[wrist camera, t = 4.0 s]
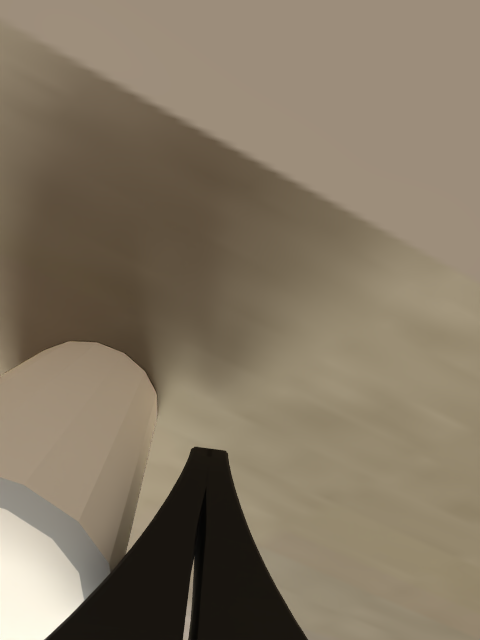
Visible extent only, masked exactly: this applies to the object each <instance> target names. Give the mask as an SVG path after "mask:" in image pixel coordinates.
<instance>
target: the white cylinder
mask: <svg viewBox="0 0 480 640" xmlns="http://www.w3.org/2000/svg"><path fill="white" fill-rule="evenodd" d="M157 416H158V413H157V393H156V391H155V389H154V388H153V386H152V384H151V382H150V380H149V378H148V376H147V374H146V372H145V371H144V370H143V369H142V368H141V367H140V366H138V365H137V364H136V363H135V362H134V361H133V360H132V359H130V358H129V357H128V356H127V355H126V354H125V353H123V352H120V351H118V350H115V349H113V348H110V347H108V346H105V345H103V344H100V343H98V342H76V341H68V342H65V343H63V344H60V345H57V346H54V347H51V348H49V349H46V350H44V351H42V352H40V353H38V354H37V355H35V356H33V357H32V358H30V359H28V360H26V361H25V362H23V363H21V364H20V365H18V366H16V367H14V368H13V369H11V370H9V371H8V372H6V373H4V374H2V375H1V376H0V640H44V639H45V638H47V637H48V636H49V635H50V634H51V633H52V632H53V631H54V630H55V629H56V628H57V627H58V626H59V625H60V624H61V623H63V622H64V621H65V620H66V619H67V618H68V617H69V616H70V615H71V614H72V613H73V612H74V611H75V610H76V609H77V608H78V607H79V606H80V605H81V604H82V603H83V601H84V600H85V599H86V598H87V597H88V596H89V595H90V594H91V593H92V592H93V591H94V590H95V589H96V588H97V587H98V586H99V585H100V584H101V583H102V582H103V580H104V579H105V578H106V577H107V576H108V575H109V574H110V573H111V572H112V570H113V569H114V568H115V567H116V566H117V565H118V563H119V562H120V561H121V560H122V559H123V557H124V556H125V554H126V550H127V546H128V541H129V537H130V533H131V528H132V524H133V520H134V515H135V511H136V507H137V503H138V498H139V494H140V490H141V485H142V481H143V477H144V472H145V468H146V464H147V459H148V455H149V451H150V446H151V442H152V438H153V433H154V429H155V425H156V420H157Z"/></svg>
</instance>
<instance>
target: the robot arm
mask: <svg viewBox="0 0 480 640" xmlns="http://www.w3.org/2000/svg"><path fill="white" fill-rule="evenodd" d="M194 556H195V557H194ZM193 561H194V577H193V597H192V611H191V622H190V630H189V639H188V640H308V639H307V637H306V636H305V634H304V633H303V631H302V630H301V628H300V626H299V625H298V623H297V622H296V620H295V618H294V617H293V615H292V613H291V611H290V610H289V608H288V606H287V604H286V603H285V601H284V599H283V598H282V596H281V594H280V592H279V591H278V589H277V587H276V585H275V583H274V582H273V580H272V578H271V576H270V574H269V572H268V570H267V568H266V566H265V564H264V562H263V560H262V557H261V555H260V553H259V551H258V549H257V547H256V544H255V542H254V540H253V537H252V535H251V533H250V530H249V527H248V525H247V522H246V520H245V517H244V514H243V512H242V509H241V506H240V503H239V499H238V496H237V493H236V490H235V487H234V483H233V479H232V475H231V471H230V466H229V460H228V453H227V452H226V451H223V450H216V449H208V448H200V447H194V448H192V449H191V452H190V455H189V458H188V460H187V462H186V465H185V467H184V469H183V471H182V473H181V475H180V477H179V478H178V480H177V482H176V484H175V485H174V487H173V489H172V491H171V492H170V494H169V496H168V497H167V499H166V500H165V502H164V503H163V505H162V506H161V508H160V509H159V511H158V512H157V514H156V515H155V517H154V518H153V520H152V521H151V523H150V524H149V525H148V527H147V528H146V530H145V531H144V532H143V534H142V535H141V536H140V538H139V539H138V540H137V541H136V543H135V544H134V545H133V547H132V548H131V549H130V550H129V551H128V553H127V554H126V555H125V556H124V557H123V559H122V560H121V561H120V562H119V563H118V565H117V566H116V567H115V568H114V569H113V570H112V572H111V573H110V574H109V575H108V576H107V577H106V578H105V579H104V580H103V582H102V583H101V584H100V585H99V586H98V587H97V588H96V589H95V590H94V591H93V592H92V593H91V594H90V595H89V596H88V597H87V598H86V599H85V600H84V601H83V603H82V604H81V605H80V606H79V607H78V608H77V609H76V610H75V611H74V612H73V613H72V614H71V615H70V616H69V617H68V618H67V619H66V620H65V621H64V622H63V623H61V624H60V625H59V626H58V627H57V628H56V629H55V630H54V631H53V632H52V633H51V634H50V635H49V636H48V637H47V638H45V639H44V640H183V633H184V625H185V616H186V608H187V600H188V592H189V583H190V575H191V570H192V565H193Z"/></svg>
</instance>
